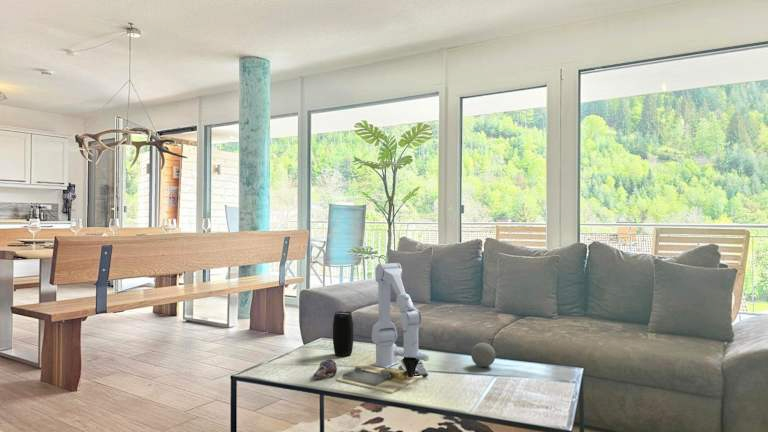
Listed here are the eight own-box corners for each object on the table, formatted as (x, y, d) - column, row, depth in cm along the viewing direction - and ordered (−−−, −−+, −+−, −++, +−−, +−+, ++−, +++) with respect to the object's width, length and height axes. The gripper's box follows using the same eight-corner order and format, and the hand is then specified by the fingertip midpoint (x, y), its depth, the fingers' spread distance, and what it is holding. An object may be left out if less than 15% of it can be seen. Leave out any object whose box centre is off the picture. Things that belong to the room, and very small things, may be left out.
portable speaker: (330, 353, 241) (330, 311, 241) (350, 351, 244) (349, 310, 244) (336, 358, 233) (336, 314, 233) (356, 356, 236) (355, 313, 236)
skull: (320, 382, 199) (320, 366, 199) (305, 379, 204) (305, 363, 204) (340, 374, 209) (340, 359, 209) (326, 371, 213) (326, 356, 213)
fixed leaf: (356, 371, 210) (356, 365, 210) (391, 379, 200) (391, 372, 200) (341, 378, 202) (341, 371, 202) (377, 386, 192) (377, 379, 192)
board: (369, 367, 219) (369, 365, 219) (423, 377, 204) (423, 376, 204) (336, 380, 201) (336, 379, 201) (392, 393, 186) (392, 391, 186)
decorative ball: (500, 367, 217) (500, 343, 217) (483, 371, 212) (483, 347, 212) (483, 362, 226) (483, 339, 226) (466, 365, 220) (466, 342, 220)
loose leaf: (388, 370, 212) (388, 362, 212) (413, 375, 205) (413, 367, 205) (376, 375, 205) (376, 367, 205) (402, 380, 198) (402, 372, 198)
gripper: (389, 341, 202) (389, 376, 202) (421, 346, 193) (422, 382, 193) (399, 337, 207) (399, 371, 207) (431, 342, 199) (431, 377, 199)
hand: (411, 376), depth 201 cm, fingers closed
